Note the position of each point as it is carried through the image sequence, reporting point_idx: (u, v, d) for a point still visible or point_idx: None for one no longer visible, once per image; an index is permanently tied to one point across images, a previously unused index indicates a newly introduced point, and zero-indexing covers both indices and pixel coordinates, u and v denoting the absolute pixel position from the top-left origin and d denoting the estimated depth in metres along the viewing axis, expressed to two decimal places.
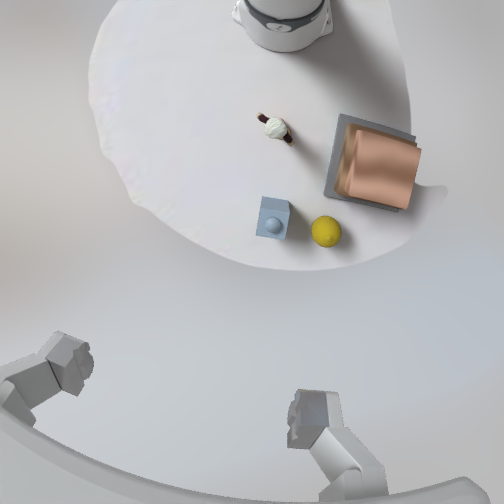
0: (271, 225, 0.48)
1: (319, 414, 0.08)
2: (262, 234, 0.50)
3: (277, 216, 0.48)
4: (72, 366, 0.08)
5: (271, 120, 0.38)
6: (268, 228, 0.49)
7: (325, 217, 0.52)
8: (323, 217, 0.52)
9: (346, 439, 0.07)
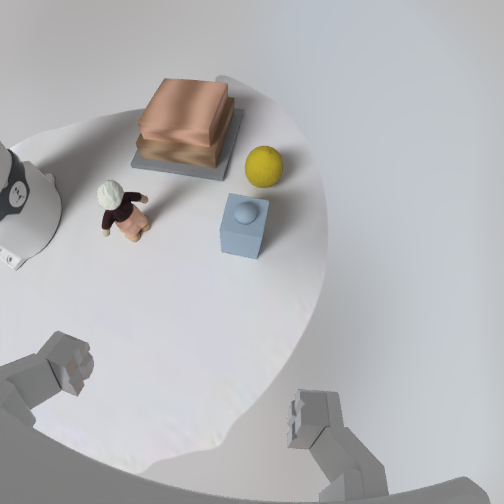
0: (245, 213, 0.34)
1: (319, 414, 0.08)
2: (260, 228, 0.34)
3: (233, 208, 0.35)
4: (72, 366, 0.08)
5: (98, 197, 0.30)
6: (249, 217, 0.33)
7: (245, 167, 0.41)
8: (245, 170, 0.41)
9: (346, 439, 0.07)
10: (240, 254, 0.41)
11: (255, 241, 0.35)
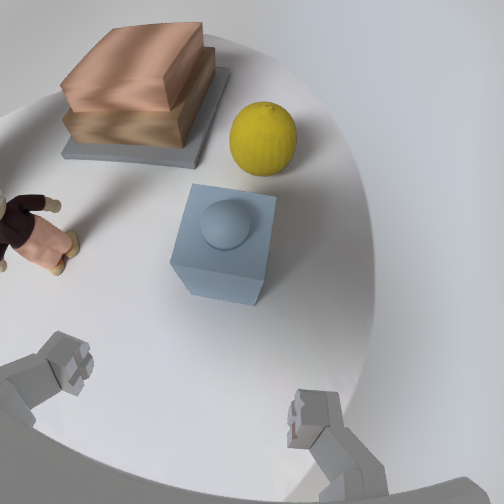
0: (224, 225, 0.15)
1: (319, 414, 0.08)
2: (260, 259, 0.15)
3: (200, 215, 0.16)
4: (72, 366, 0.08)
5: None
6: (234, 234, 0.15)
7: (230, 141, 0.23)
8: (230, 146, 0.23)
9: (346, 439, 0.07)
10: (224, 299, 0.22)
11: (249, 284, 0.16)
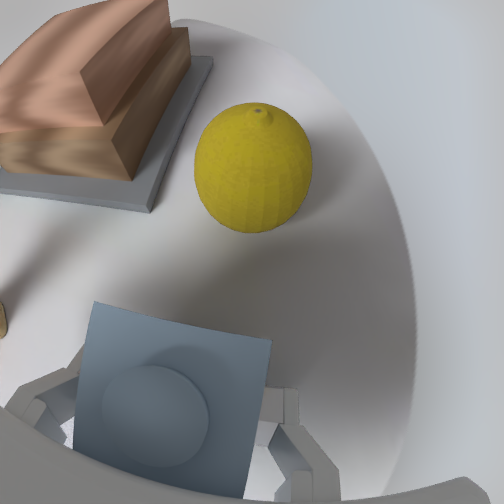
0: (149, 426, 0.05)
1: (274, 410, 0.08)
2: (233, 475, 0.06)
3: (110, 379, 0.07)
4: None
5: None
6: (172, 447, 0.05)
7: None
8: (196, 183, 0.13)
9: (299, 437, 0.07)
10: None
11: None
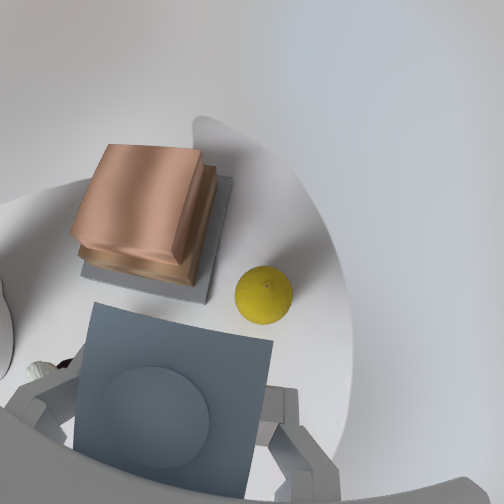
0: (150, 427, 0.05)
1: (274, 410, 0.08)
2: (234, 476, 0.06)
3: (110, 380, 0.06)
4: None
5: None
6: (173, 448, 0.05)
7: (235, 299, 0.28)
8: (236, 302, 0.28)
9: (300, 437, 0.07)
10: None
11: None
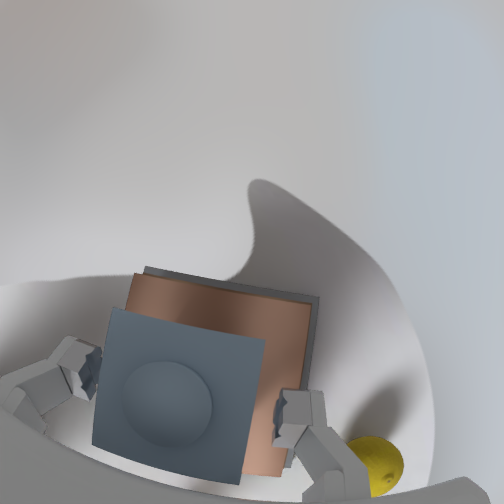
0: (163, 412, 0.07)
1: (302, 413, 0.08)
2: (232, 455, 0.07)
3: (127, 374, 0.08)
4: (85, 371, 0.08)
5: None
6: (182, 430, 0.07)
7: None
8: None
9: (328, 439, 0.07)
10: None
11: None
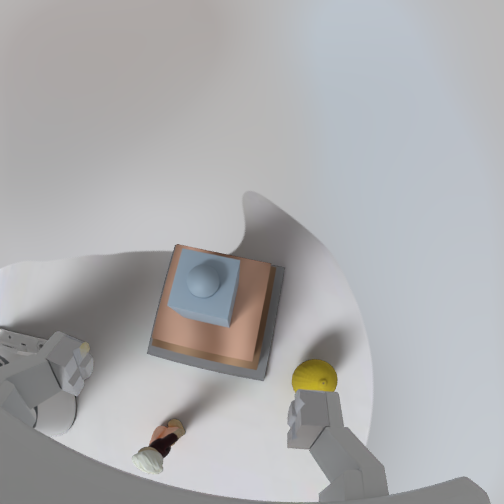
0: (202, 282, 0.23)
1: (319, 414, 0.08)
2: (225, 304, 0.23)
3: (187, 272, 0.24)
4: (72, 366, 0.08)
5: (136, 466, 0.22)
6: (208, 289, 0.22)
7: (293, 383, 0.33)
8: (293, 386, 0.33)
9: (346, 439, 0.07)
10: (207, 322, 0.30)
11: (219, 319, 0.24)
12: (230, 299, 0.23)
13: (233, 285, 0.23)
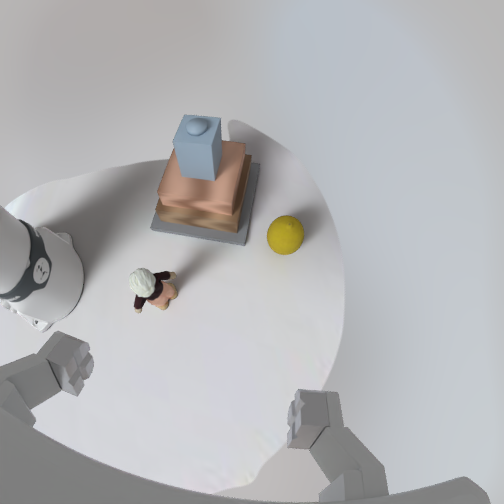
0: (195, 125, 0.33)
1: (319, 414, 0.08)
2: (210, 138, 0.34)
3: None
4: (72, 366, 0.08)
5: (131, 285, 0.32)
6: (199, 128, 0.33)
7: (267, 237, 0.44)
8: (268, 239, 0.44)
9: (346, 439, 0.07)
10: (199, 176, 0.40)
11: (206, 151, 0.35)
12: (213, 135, 0.34)
13: (215, 129, 0.34)
